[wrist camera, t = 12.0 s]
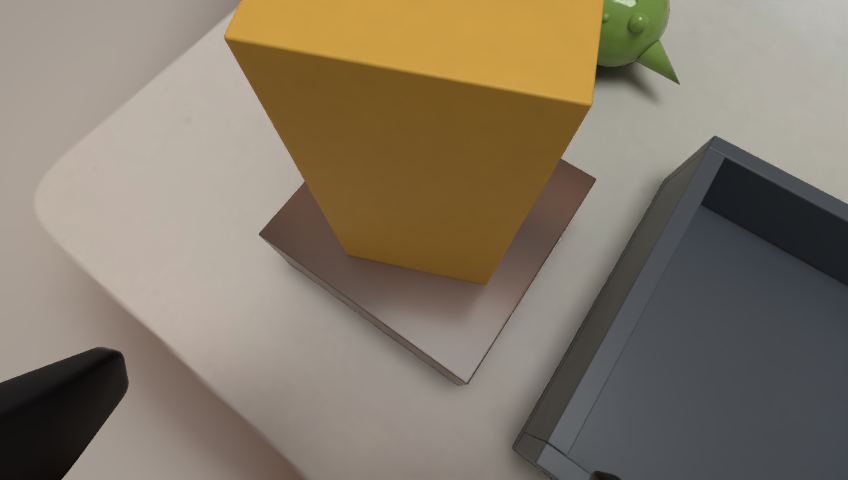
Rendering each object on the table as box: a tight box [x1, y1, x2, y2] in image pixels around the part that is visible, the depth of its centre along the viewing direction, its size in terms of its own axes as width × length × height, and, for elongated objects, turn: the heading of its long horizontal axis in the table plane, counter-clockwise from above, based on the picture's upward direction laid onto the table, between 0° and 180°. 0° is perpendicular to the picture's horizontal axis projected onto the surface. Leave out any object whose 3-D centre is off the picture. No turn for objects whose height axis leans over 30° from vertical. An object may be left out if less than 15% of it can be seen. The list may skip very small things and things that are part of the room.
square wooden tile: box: [259, 158, 596, 386], centre depth 19 cm, size 10×10×4 cm
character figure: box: [597, 0, 680, 85], centre depth 23 cm, size 12×5×12 cm
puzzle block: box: [224, 0, 604, 285], centre depth 12 cm, size 6×6×11 cm
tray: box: [512, 136, 848, 480], centre depth 17 cm, size 16×16×4 cm
